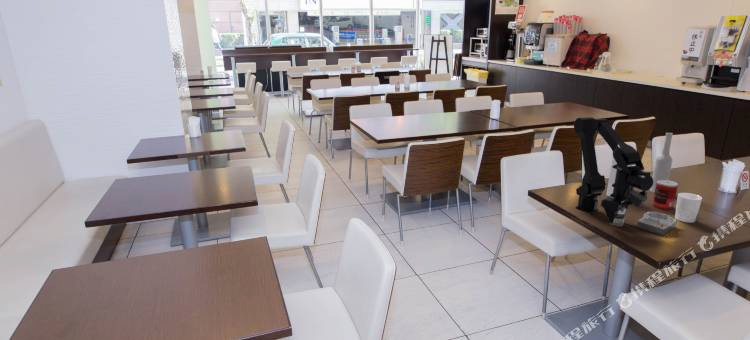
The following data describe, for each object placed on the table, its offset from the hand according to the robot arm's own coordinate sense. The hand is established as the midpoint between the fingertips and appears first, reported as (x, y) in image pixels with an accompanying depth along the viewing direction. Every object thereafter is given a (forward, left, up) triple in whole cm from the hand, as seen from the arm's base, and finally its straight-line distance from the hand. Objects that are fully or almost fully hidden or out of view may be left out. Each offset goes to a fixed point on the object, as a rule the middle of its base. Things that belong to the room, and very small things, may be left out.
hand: (616, 219), depth 172 cm
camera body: (+11, +9, -2) cm, 14 cm away
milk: (-14, +31, -2) cm, 34 cm away
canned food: (+4, +34, -2) cm, 34 cm away
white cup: (+15, +26, -2) cm, 30 cm away
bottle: (-5, +53, -2) cm, 53 cm away
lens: (0, 0, -2) cm, 2 cm away
